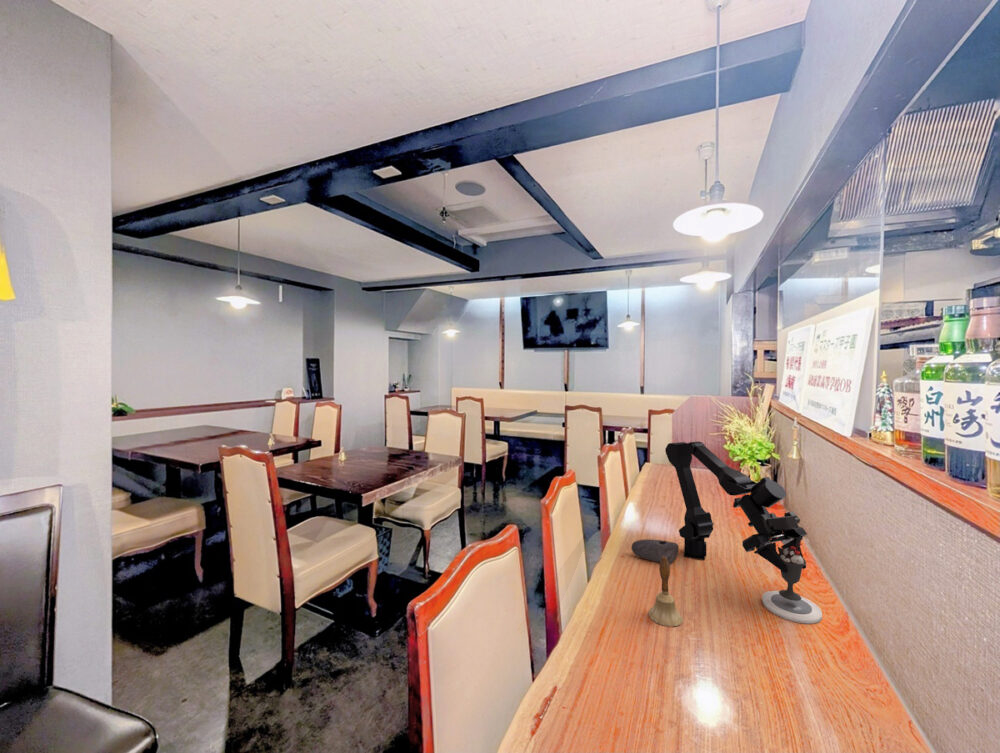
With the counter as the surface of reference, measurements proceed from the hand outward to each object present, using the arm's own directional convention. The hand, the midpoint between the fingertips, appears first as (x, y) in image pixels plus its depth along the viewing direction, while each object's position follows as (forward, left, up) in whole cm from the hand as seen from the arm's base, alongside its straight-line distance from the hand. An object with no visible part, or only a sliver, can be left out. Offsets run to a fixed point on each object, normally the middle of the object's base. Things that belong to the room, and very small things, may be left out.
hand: (795, 570), depth 107 cm
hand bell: (-31, -18, -11) cm, 38 cm away
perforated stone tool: (-37, +14, -11) cm, 41 cm away
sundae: (-1, +1, -8) cm, 8 cm away
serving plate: (-1, +1, -11) cm, 11 cm away
